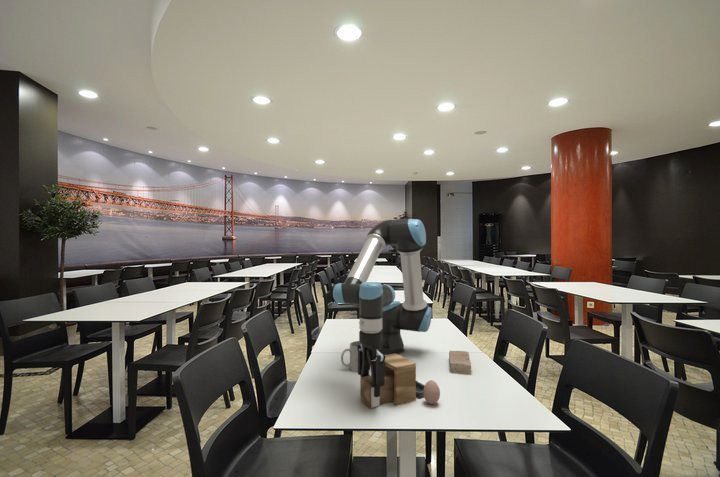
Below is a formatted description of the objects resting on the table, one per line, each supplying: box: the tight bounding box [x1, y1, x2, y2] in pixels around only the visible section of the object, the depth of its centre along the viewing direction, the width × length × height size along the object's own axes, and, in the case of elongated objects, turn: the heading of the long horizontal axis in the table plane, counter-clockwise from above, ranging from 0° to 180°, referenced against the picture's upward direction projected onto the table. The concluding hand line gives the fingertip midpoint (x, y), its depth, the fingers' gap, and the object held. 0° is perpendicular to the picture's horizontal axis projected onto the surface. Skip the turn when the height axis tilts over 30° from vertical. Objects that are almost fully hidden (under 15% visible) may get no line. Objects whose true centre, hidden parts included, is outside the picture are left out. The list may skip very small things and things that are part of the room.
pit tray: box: [416, 380, 425, 400], centre depth 118 cm, size 11×6×2 cm, turn 31°
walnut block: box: [359, 370, 394, 410], centre depth 111 cm, size 5×15×8 cm, turn 121°
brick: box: [448, 350, 472, 376], centre depth 141 cm, size 17×8×5 cm, turn 166°
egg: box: [423, 379, 441, 405], centre depth 108 cm, size 5×5×7 cm
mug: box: [340, 340, 371, 373], centre depth 139 cm, size 12×9×10 cm
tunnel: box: [384, 354, 417, 407], centre depth 113 cm, size 11×8×12 cm
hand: (370, 402), depth 108 cm, fingers closed on walnut block, 5 cm apart
